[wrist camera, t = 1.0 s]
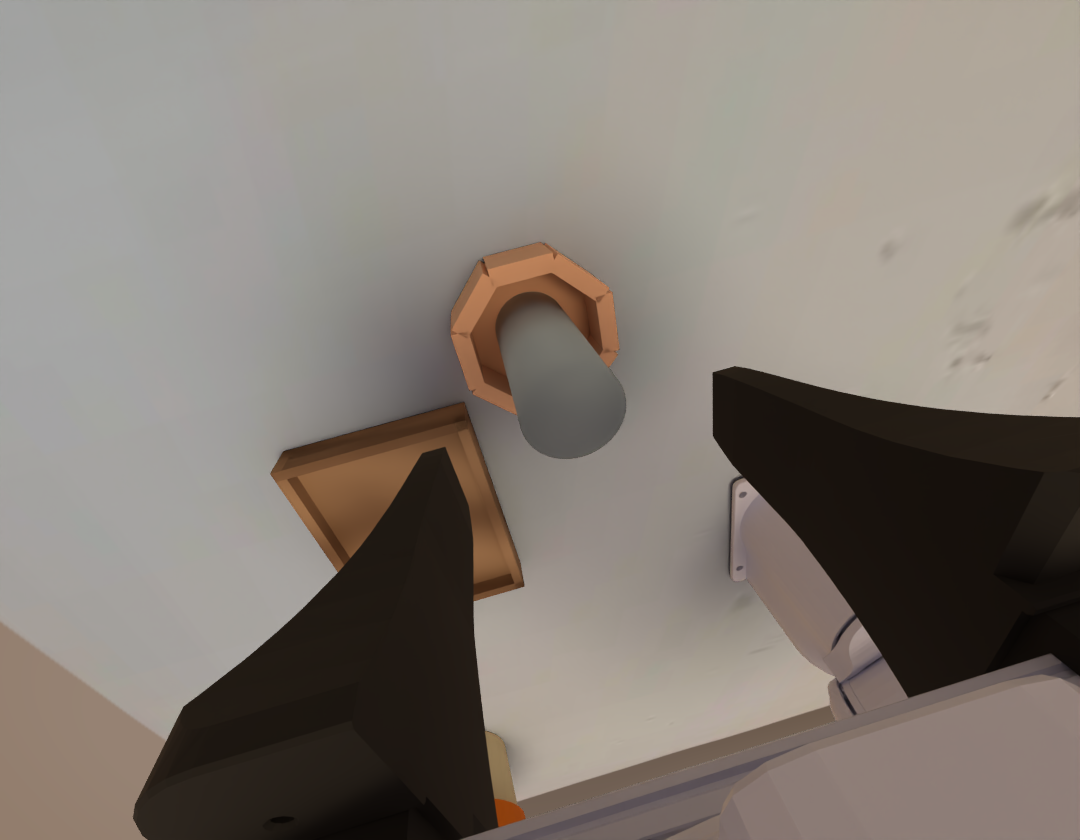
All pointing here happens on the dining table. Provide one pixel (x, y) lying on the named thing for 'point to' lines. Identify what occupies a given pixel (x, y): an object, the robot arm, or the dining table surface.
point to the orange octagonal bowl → (514, 276)
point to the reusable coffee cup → (502, 782)
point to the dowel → (557, 379)
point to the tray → (396, 489)
